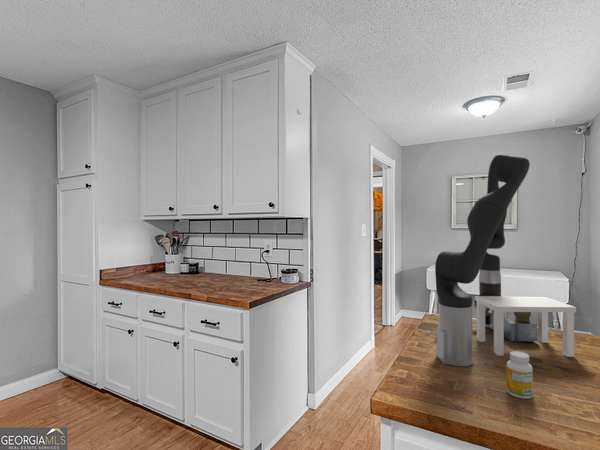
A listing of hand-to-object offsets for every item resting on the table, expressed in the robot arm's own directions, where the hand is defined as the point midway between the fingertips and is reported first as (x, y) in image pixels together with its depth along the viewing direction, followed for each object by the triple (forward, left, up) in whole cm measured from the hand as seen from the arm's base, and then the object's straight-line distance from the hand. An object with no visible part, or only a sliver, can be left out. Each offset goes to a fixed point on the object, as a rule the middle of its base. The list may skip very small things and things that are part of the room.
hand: (490, 324), depth 132 cm
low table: (0, -22, -1) cm, 22 cm away
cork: (+5, -13, -1) cm, 14 cm away
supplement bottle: (-18, -52, -1) cm, 55 cm away
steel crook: (+3, -7, -1) cm, 8 cm away
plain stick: (-18, -9, -2) cm, 20 cm away
